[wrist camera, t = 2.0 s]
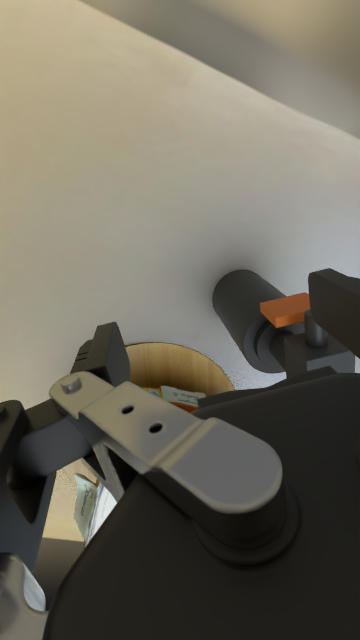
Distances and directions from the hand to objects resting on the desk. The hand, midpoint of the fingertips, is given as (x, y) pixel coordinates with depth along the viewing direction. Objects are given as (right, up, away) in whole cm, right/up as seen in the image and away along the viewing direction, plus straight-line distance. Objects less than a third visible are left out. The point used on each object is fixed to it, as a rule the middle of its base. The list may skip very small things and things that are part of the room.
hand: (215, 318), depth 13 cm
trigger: (+7, +1, +13) cm, 14 cm away
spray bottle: (+6, +3, +26) cm, 27 cm away
